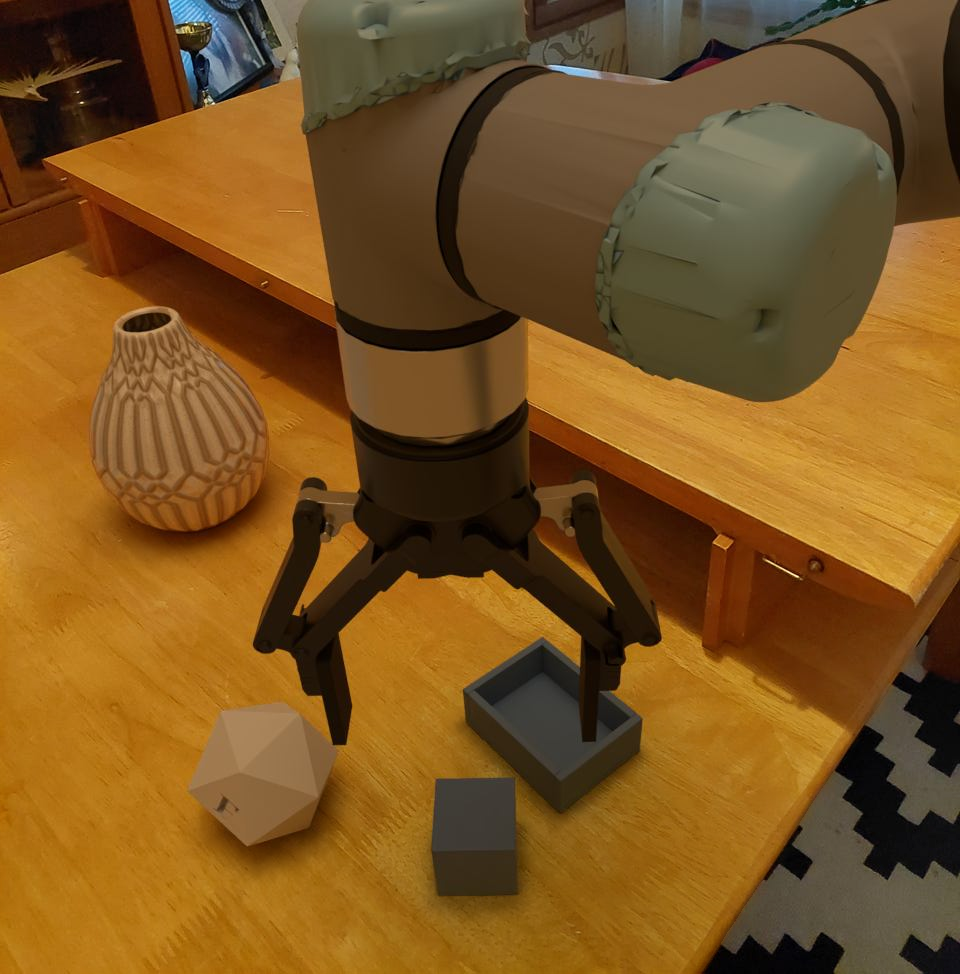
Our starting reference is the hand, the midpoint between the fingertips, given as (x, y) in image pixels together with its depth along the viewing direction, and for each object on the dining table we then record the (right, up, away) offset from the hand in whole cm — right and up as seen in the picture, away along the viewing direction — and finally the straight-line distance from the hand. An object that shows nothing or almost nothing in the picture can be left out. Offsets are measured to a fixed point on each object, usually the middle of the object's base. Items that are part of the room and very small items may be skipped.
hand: (464, 724), depth 51 cm
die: (-13, -9, +12) cm, 20 cm away
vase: (-27, +11, +39) cm, 49 cm away
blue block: (+1, -11, +8) cm, 13 cm away
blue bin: (+6, -5, +15) cm, 17 cm away
